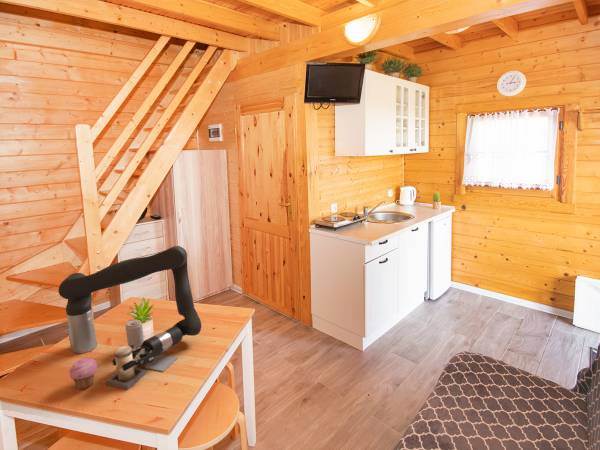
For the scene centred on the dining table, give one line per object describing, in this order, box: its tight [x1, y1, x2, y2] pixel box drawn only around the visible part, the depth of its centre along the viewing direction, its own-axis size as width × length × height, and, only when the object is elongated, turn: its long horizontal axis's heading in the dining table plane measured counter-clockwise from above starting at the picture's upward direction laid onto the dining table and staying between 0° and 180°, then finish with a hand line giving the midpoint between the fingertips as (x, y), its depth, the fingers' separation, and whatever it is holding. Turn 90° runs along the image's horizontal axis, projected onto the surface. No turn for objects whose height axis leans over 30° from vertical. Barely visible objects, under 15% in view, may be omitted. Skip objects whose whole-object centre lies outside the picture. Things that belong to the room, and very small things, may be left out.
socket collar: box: [105, 367, 147, 390], centre depth 137 cm, size 10×10×2 cm
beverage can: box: [125, 319, 145, 348], centre depth 158 cm, size 6×6×12 cm
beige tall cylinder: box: [113, 345, 136, 383], centre depth 136 cm, size 6×6×12 cm
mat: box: [143, 354, 178, 373], centre depth 147 cm, size 9×9×1 cm
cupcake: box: [69, 358, 98, 390], centre depth 134 cm, size 9×9×10 cm
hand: (118, 365), depth 134 cm, fingers closed on beige tall cylinder, 5 cm apart
